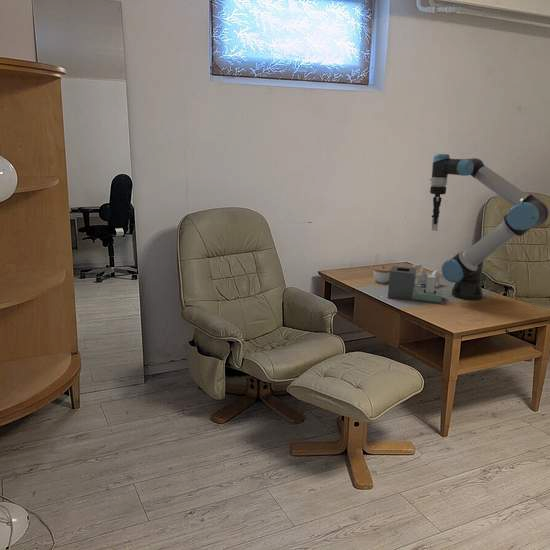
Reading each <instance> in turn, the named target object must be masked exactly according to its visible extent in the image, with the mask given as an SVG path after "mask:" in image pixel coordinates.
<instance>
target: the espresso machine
mask: <svg viewBox="0 0 550 550" xmlns="http://www.w3.org/2000/svg"><path fill="white" fill-rule="evenodd" d="M416 274H417V268H416V267H414V268H413V267H407V266H397V265H392V266H391V270H390V276H389V281H388V289H387V290H388V291H387V299H393V300H394V299H395V300H403V301H410V302H419V303H420V302H421V303H426V304H434V305H435V304H438V305H442V301H443V292H444V290H443V289H437V288H435V289H434V294H431V293H426V287H420V286H416V285H415V282H416V279H417V278H416Z"/></svg>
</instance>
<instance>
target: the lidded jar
mask: <svg viewBox="0 0 550 550" xmlns="http://www.w3.org/2000/svg"><path fill="white" fill-rule="evenodd" d="M391 268H392V266H391V267H390V266H385V265H384V264H383V265H378V266H374V267H373V270H372V271H373V277H374V280H375V281H376V282H377V283H379V284H387V283H389V276H390V270H391Z"/></svg>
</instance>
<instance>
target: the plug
mask: <svg viewBox="0 0 550 550" xmlns="http://www.w3.org/2000/svg"><path fill="white" fill-rule="evenodd" d="M436 286H437V279H436V276H432V274H431V275H428V276H427V283H426V284H425V288H426V293H431V294H434V289H436V288H435V287H436Z"/></svg>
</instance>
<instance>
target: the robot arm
mask: <svg viewBox="0 0 550 550" xmlns="http://www.w3.org/2000/svg"><path fill="white" fill-rule="evenodd" d="M449 175H453V176H465V177H467V176H471V177H472V178H473V179H475V180H477V181H478V182H480V184H483V185H484V186H485V187H487V188H488V190H489V189H490V190H491V192H493V193H495V194H496V195H497V196H499V197H500V198H502V199H503V200H504V201H506V202H507V203H509V204H510V205H512V207H511V208H510V209H509V210H508V212H507V213H506V214H505V215H504V216H502V222H500V223H499V224H498V225H497V226H495V228H493V229H492V230H490V231H489V232H488V233H487V234H485V235H484V236H483V237H482V238H480V239H479V240H478V241H477V242H475V243H474V244H473V245H472V246H470V247H469V248H468V249H467V250H465V251H464V250H460V251H459V252H457V254H455V255H454V256H453V257H451V258H449V259H446V260H445V261H444V262H443V263H442V265H441V274H442V276H443V278H444V279H445V280H446V281H448V282H449V283H454V285H453V287H452V289H451V295H452V297H454V298H457V299H462V300H467V301H469V300H470V301H478V300H482V298H483V295H484V294H483V290H482V288H483V287H482V285H481V284H482V283H481V281H482V274H483V265H484V262H485V260H486V259H487V258H489V257H491V255H493V254H494V253H495V252H497V251H498V250H499V249H501V248H502V247H503V246H504V245H506V244H507V243H509V242H510V241H511V240H513V239H514V238H515V237H522V236H523V235H525V234H526V233H527V232H529V231H530V230H531V229H533V228H535V227H539V226H542V225H544V224H545V223H546V221H548V218H549V215H550V214H549V213H550V211H549V208H548V206H547V205H546V204H545V203H544V201H542V200H540V199H539V198H537V197H536V196H534V195H533V194H527V193H525V192H524V191H523V190H522V189H520V188H518V187H517V186H515V185H514V184H513V183H511V182H510V181H508V180H507V179H505V178H504V177H502V176H501V175H500V174H499V173H497V172H495V171H493V170H492V169H491V168H489V167H488V166H486V165H485V164H484V162H483V160H481V159H480V158H475V157H472V158H450V154H449V153H448V154H447V153H435V154H434V155H433V160H432V169H431V178H429V180H430V181H431V182H430V185H431V186H430V189H429V193H430V194H431V195H434V197H432V202H433V204H432V205H433V209H432V215H431V218H432V220H431V231H433V232H434V231H436V232H437V231H438V226H439V219H440V218H439V217H440V213H441V212H440V207H441V203H442V196H441V195H445V194H446V193H447V185H448V184H447V183H448V176H449Z"/></svg>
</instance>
